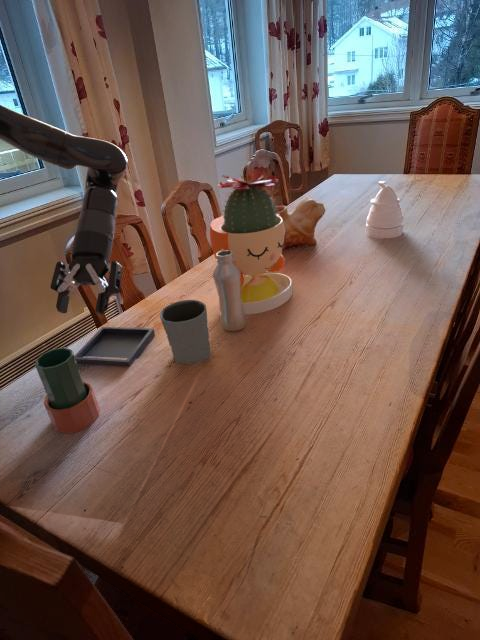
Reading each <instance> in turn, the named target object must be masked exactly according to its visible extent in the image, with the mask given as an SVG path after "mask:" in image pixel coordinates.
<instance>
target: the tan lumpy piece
mask: <svg viewBox="0 0 480 640" xmlns="http://www.w3.org/2000/svg"><path fill="white" fill-rule="evenodd" d="M275 206H276V207H275V209H276V208H277V209H276V211H278V212H276V214H280V216H281V218H282V220H283V224H284V229H285V242H284V246H283V250H282V251H285V250H284V249H286V250H290V249H289V248H291V249H294V248H293V247H296V248H299V247H298V246H301V247H307V246H306V245H308V246H315V245H317V244H316V243H317V240H316V237H315V232H316V227H317V224H318V223H319V222H320V220H321V219H323V217H324V215H325V213H326V208H325V205H324V203H322V202H317V201H316V200H315V199H312V198H311V197H304V198H303V199H302V200H301V201H300V202H298V204H297V206H295V208H294V209H293V210H292V211H291V212H290V211H289V212H288V207H287V206H286V205H275ZM278 209H279V210H278Z"/></svg>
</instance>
